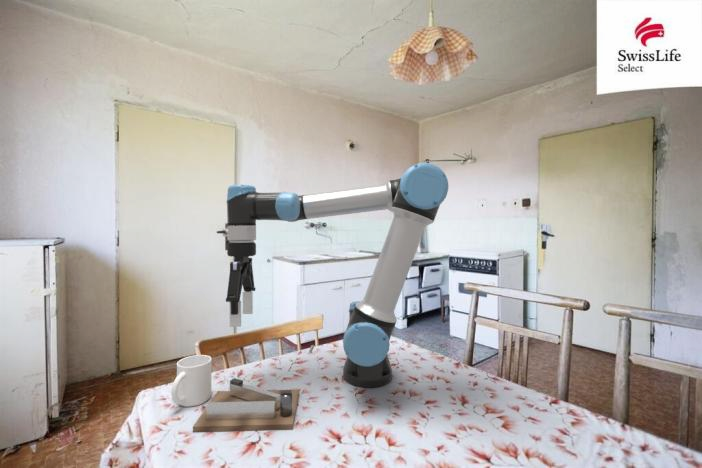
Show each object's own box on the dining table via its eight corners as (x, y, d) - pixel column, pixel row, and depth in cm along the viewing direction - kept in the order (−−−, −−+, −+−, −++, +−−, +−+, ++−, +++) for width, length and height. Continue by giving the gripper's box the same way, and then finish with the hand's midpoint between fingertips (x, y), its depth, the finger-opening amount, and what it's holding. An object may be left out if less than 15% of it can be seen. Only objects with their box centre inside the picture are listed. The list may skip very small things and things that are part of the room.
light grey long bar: (280, 406, 81) (280, 391, 81) (276, 409, 80) (276, 394, 80) (234, 392, 88) (234, 378, 88) (229, 394, 86) (229, 380, 86)
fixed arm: (292, 410, 80) (292, 388, 80) (291, 417, 77) (291, 395, 77) (211, 412, 79) (211, 390, 78) (206, 420, 76) (206, 396, 75)
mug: (186, 418, 78) (186, 375, 78) (157, 413, 80) (157, 371, 80) (217, 393, 90) (218, 356, 90) (191, 389, 92) (191, 353, 92)
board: (299, 393, 90) (299, 389, 90) (292, 429, 74) (292, 424, 74) (217, 395, 89) (217, 391, 89) (192, 432, 73) (192, 426, 73)
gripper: (239, 240, 102) (240, 309, 103) (212, 243, 78) (212, 333, 78) (264, 240, 103) (264, 308, 103) (244, 243, 79) (244, 333, 79)
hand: (242, 319), depth 91 cm, fingers open, 12 cm apart
